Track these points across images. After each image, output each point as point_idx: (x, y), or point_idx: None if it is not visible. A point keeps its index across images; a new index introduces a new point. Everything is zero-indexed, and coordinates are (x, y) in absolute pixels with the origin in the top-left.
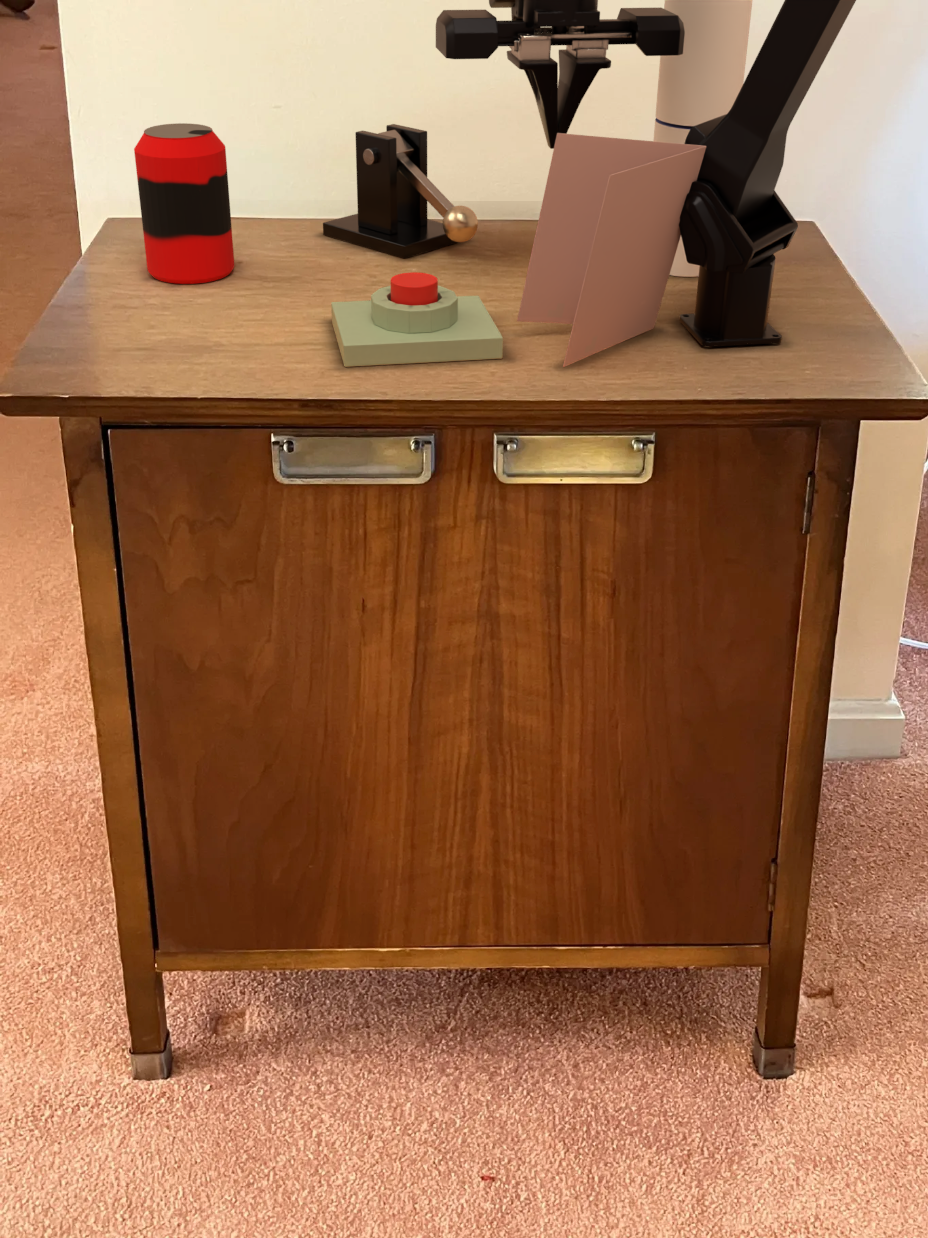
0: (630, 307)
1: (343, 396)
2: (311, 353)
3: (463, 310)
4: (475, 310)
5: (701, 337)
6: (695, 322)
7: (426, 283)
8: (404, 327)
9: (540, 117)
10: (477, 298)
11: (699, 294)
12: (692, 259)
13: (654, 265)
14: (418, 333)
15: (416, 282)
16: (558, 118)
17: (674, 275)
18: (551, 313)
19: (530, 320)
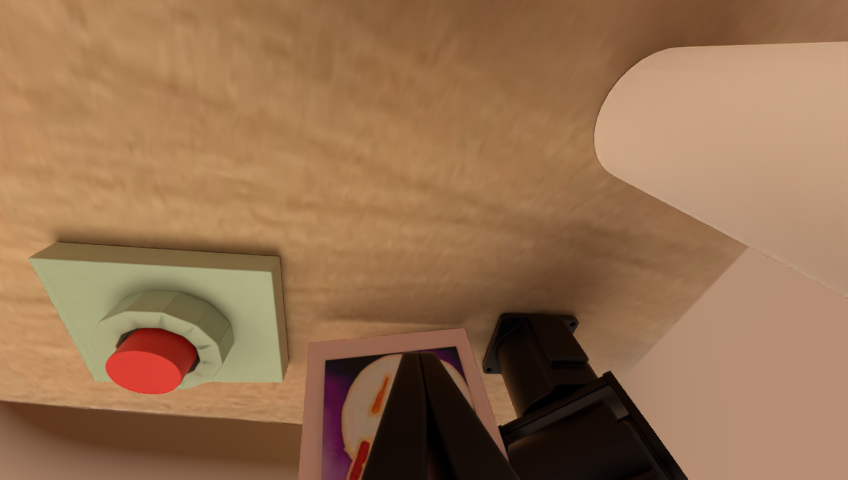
0: None
1: (127, 407)
2: (59, 325)
3: (244, 316)
4: (260, 317)
5: (486, 365)
6: (498, 349)
7: (165, 387)
8: None
9: (377, 429)
10: (268, 282)
11: (507, 377)
12: None
13: None
14: None
15: (149, 383)
16: (427, 475)
17: (604, 168)
18: (348, 349)
19: (325, 343)
